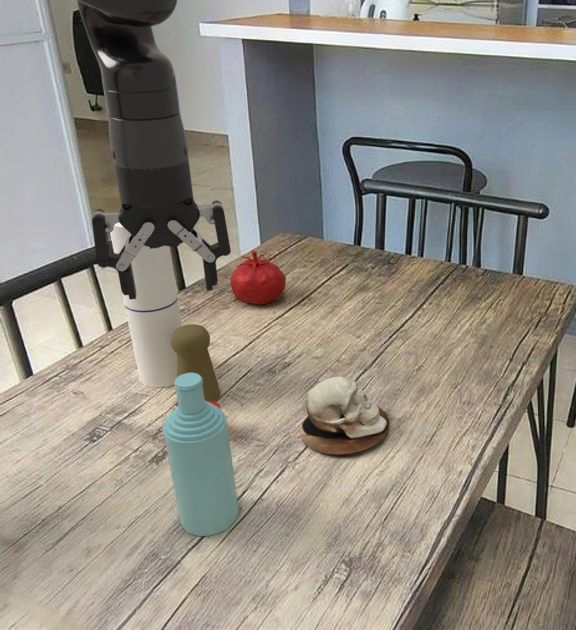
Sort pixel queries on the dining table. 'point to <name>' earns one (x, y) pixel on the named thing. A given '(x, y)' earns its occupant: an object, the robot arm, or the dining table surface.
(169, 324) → the cylindrical container
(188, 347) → the brown pawn
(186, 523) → the bottle
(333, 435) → the skull
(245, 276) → the pomegranate
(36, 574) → the dining table surface
